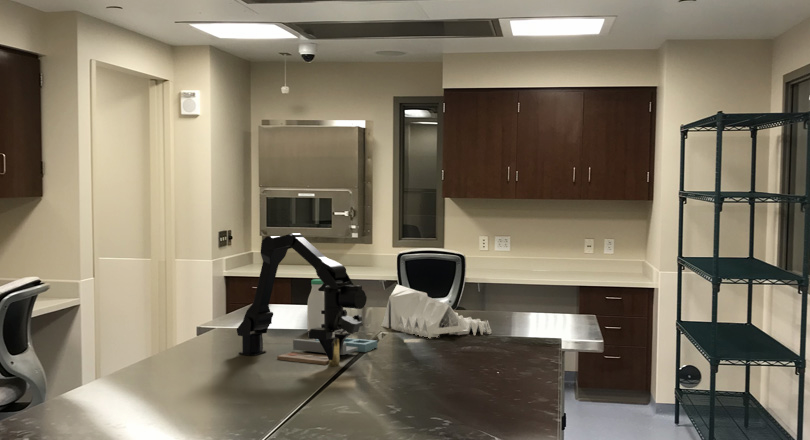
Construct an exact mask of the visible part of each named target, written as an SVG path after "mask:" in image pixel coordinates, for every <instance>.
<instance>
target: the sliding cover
mask: <svg viewBox="0 0 810 440" xmlns="http://www.w3.org/2000/svg"><path fill="white" fill-rule="evenodd" d="M292 350H293V351H300V352H301V351H302V352H310V353H311V352H313V353H320V354H322V353H323V354H326V353H325V351H324V349H323V347H322V345H321V343H320V341H315V339H301V338H294V339H293V340H292ZM356 350H358V347H349V346H346V343H343V346H342V349H341V353H340V355H341V356H343V355H347V354H349V353H352V352H357V351H356Z"/></svg>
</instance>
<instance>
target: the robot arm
mask: <svg viewBox="0 0 810 440" xmlns="http://www.w3.org/2000/svg"><path fill="white" fill-rule="evenodd" d="M290 249H293V251H295V252H296V253H297V254H299V256H301V258H303V259H304V260H305V261H306V262H307V264H308V263H309V265H310V266H311V267H312V268H314V271H315V272H316V273H315V274H316V276H317V277H318V279H320V280H321V281H322V282H323V285H322V286H321V287H320V288H319V289H318V291H324V310H321V314H324V324H321V328H320V327H317V328H313V329H310V331H309V332H308V331H307V333H308V335H307V336H308V340H316V339H318V340H319V341H320V343H321V345H322V347H323V349H324V351H325V353H324V354H325V355H327V357H328V359H329V360H333V352H334V342H335V341H336V340H337V339H338V338H339V357H341V356H340V353H341V349H342V346H343V343H344V340H345V339H346V338H349V336H351V335H353V334H355V333H359V330H360V328H361V327H363V316H362V315H361V314H355V315H354V316H352V315H348V310H347V309H357V310H361V309H364V307H365V306H366V304H367V295H366V292H365V291H364V290H363V286H362V285H361V284H360V285H359V284H358V285H354V283H353V281H352V280H351V278H350V276H349V274H348V273H347V269H346V267H345V266H344V265H343V264H341V263H340V262H338V261H336V260H334V259H331V258H328V257H326V256H325V254H324V253H322V252H321V251H320V250H318V249H317V247H315V246H314V245H313V244H312V243H310V242H309V241H308V240H307V239H306V238H305V237H304V235H303V234H301V233H300V232H299V233H288V234H284V235H268V236H266V237H264V238H262V240H261V245H260V255H261V259H262V266H261V269H260V274H259V278H258V281H257V286H256V289H255V294H254V298H253V302H252V304H251V305H250V307H248V309H246V311H245V314H244V315H243V320H242V322H241V323H240V324H239V325H238V327H237V328H236V333H237V336H239V337H242V341H241V342H242V344H241V345H242V346H241V347H242V349H241V350H242V351H239V352H238V355H246V356H257V355H261V354H264V353H267V350H264V342H263V341H264V340H263V334H267V333H268V328H270V326H271V324H272V319H273V316H274V312H272V311H271V309H270V301H271V297H272V293H273V288H274V284H275V280H276V277H277V272H278V268H279V265H280V263H281V262H282V261H283V260H284V258H285V257H286V255H287V252H288V251H289V250H290ZM344 308H345V309H344Z"/></svg>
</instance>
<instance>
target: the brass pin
mask: <svg viewBox="0 0 810 440" xmlns="http://www.w3.org/2000/svg"><path fill="white" fill-rule="evenodd" d="M339 357H340V356H339V338H338V339H337V340H336V341H335V342H334V352H333V360H329V364H328V367H331V368H334V367H335V368H337V367H340V360H339Z"/></svg>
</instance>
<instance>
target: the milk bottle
mask: <svg viewBox="0 0 810 440" xmlns="http://www.w3.org/2000/svg"><path fill="white" fill-rule="evenodd" d="M310 283H311V290H310V293H309V295H308V298H307V311H306V312H307V315H306V316H307V317H306V318H307V332H308V331H310V329H313V328H317V327H320V328H321V324H324V314H321V310H324V291H318V289H319V288H320V287H321V286H322V285H323V282H322V281H321V280H320V278H318V279H312V280H311V282H310Z"/></svg>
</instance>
